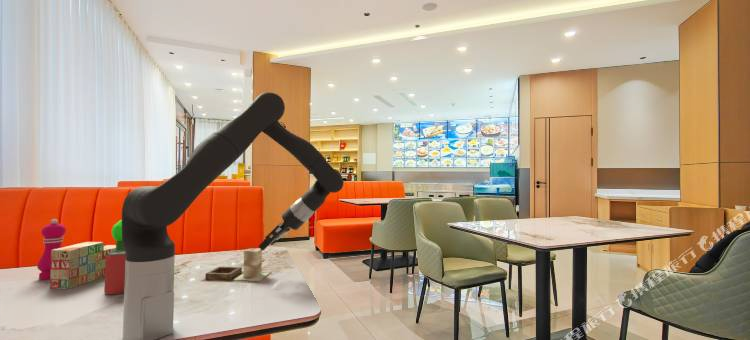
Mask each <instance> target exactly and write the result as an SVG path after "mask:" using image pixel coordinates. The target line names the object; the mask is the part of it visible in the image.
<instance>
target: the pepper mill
mask: <svg viewBox="0 0 750 340" xmlns="http://www.w3.org/2000/svg"><path fill="white" fill-rule="evenodd" d="M58 221H59V220H58V219H57V218H53V219H51V220H50V223H49V224H47V225H45V226H43V228H42V229H41V235H42V237H44V238H43V242H42V243H43V244H44V249H43V253H42V255H41V257H40V258H39V260H38V263H37V270H39V271H40V272H39V275H38V279H39V280H41V281H42V280H45V281H46V280H50V275H51V269H50V264H51V250H53V249H58V248H62V243H63V241H64V235H65V234H66V232H67V231H66V230H67V229H66V227H65V225H63V224H62V223H59V222H58Z"/></svg>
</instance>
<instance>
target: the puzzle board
mask: <svg viewBox="0 0 750 340" xmlns="http://www.w3.org/2000/svg"><path fill="white" fill-rule="evenodd" d="M243 272H244V270H243V267H242V266H218V267H215V268H213V269H212V270H209V271H208V272H207V271H206V273H205V277H204V278H203V279H201V280H200V282H211V283H213V282H215V283H217V282H218V283H219V282H220V283H246V284H247V283H251V284H261V283H262V281H264V280H265V279H267V278H268V277H269V276H271V275H272V274H273V271H262V274H261V275H260V276H258V277H257V278H243Z"/></svg>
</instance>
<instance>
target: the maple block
mask: <svg viewBox="0 0 750 340" xmlns="http://www.w3.org/2000/svg"><path fill="white" fill-rule="evenodd" d="M262 267H263V250H261V249H260V248H259V247H258V248H254V247H253V248H248V249H245V250H244V251H243V271H244V272H243V278H257V277H258V276H260V275H261V274H262V272H263V271H262V270H263V268H262Z"/></svg>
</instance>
